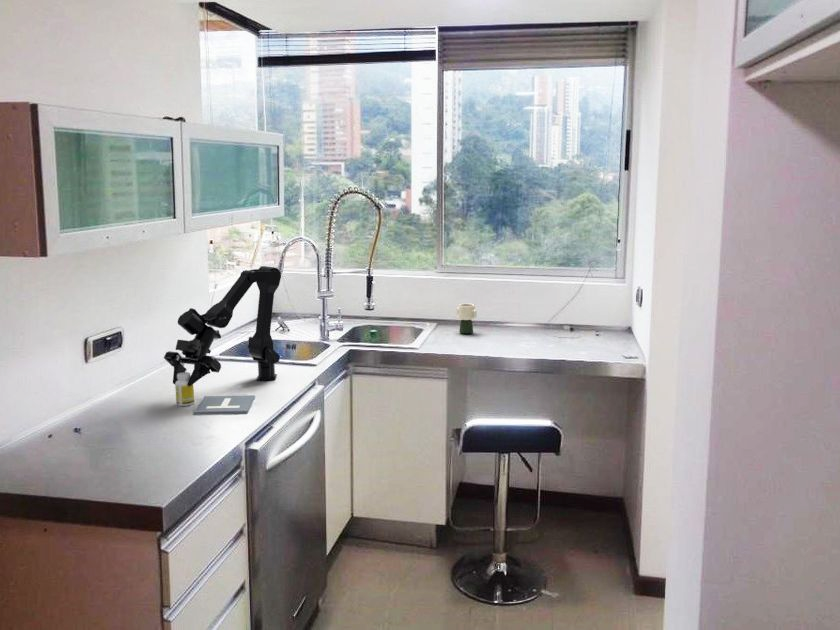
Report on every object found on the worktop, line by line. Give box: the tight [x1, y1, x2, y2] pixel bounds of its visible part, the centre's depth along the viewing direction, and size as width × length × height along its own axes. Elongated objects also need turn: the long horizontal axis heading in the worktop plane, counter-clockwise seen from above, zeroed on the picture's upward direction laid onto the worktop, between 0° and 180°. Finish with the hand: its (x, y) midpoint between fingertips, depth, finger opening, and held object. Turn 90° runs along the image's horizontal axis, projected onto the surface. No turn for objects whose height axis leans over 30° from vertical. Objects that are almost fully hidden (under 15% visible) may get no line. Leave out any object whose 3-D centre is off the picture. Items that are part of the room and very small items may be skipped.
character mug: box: [456, 303, 478, 335], centre depth 342 cm, size 11×7×13 cm, turn 49°
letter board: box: [193, 394, 256, 415], centre depth 240 cm, size 16×16×1 cm
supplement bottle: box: [174, 371, 195, 407], centre depth 242 cm, size 5×5×10 cm
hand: (181, 384), depth 240 cm, fingers closed on supplement bottle, 5 cm apart
